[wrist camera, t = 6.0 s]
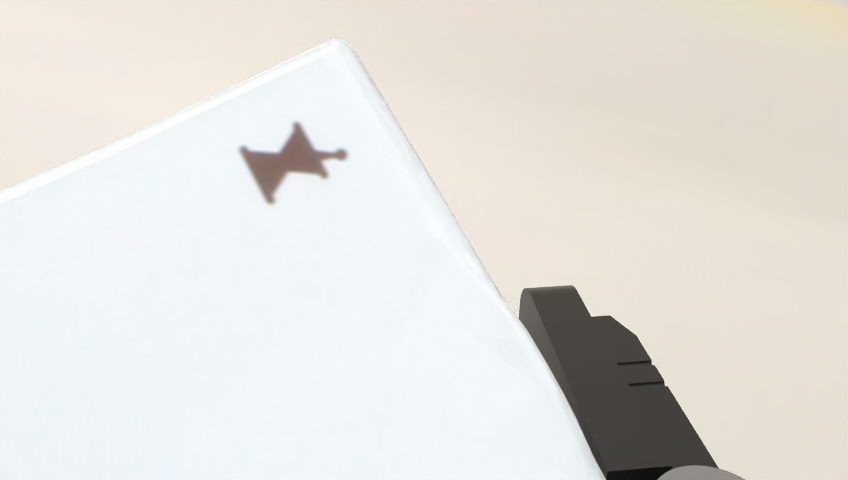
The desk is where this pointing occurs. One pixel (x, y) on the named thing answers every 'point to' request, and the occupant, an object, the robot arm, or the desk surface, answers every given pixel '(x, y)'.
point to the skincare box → (264, 305)
